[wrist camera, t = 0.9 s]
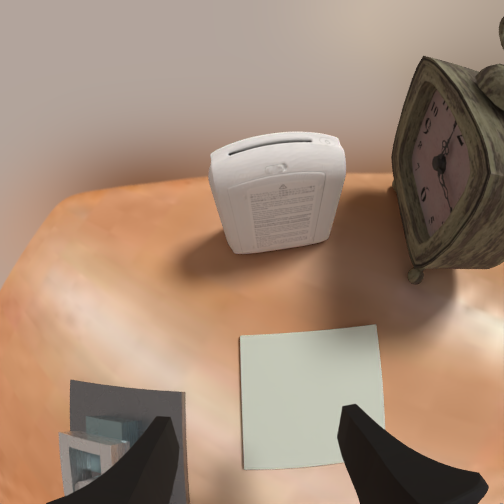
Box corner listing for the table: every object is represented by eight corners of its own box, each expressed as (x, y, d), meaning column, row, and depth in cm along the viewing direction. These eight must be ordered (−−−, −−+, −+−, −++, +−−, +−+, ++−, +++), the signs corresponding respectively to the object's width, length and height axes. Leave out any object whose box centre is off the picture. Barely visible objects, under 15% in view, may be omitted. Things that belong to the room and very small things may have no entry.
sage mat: (384, 453, 20) (385, 454, 20) (244, 468, 21) (244, 469, 20) (374, 325, 25) (376, 324, 25) (240, 336, 26) (240, 335, 26)
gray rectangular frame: (138, 532, 15) (122, 544, 12) (88, 517, 15) (70, 526, 13) (129, 441, 19) (110, 445, 16) (79, 430, 19) (58, 432, 17)
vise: (195, 557, 16) (171, 594, 10) (87, 530, 17) (46, 549, 10) (185, 392, 24) (151, 390, 18) (76, 380, 25) (26, 370, 18)
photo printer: (324, 207, 31) (339, 114, 20) (334, 243, 29) (360, 155, 18) (225, 222, 31) (197, 133, 20) (229, 260, 29) (199, 177, 18)
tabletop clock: (379, 176, 32) (434, -36, 10) (445, 182, 31) (524, 6, 9) (397, 298, 26) (575, 66, 4) (471, 296, 25) (642, 131, 3)
